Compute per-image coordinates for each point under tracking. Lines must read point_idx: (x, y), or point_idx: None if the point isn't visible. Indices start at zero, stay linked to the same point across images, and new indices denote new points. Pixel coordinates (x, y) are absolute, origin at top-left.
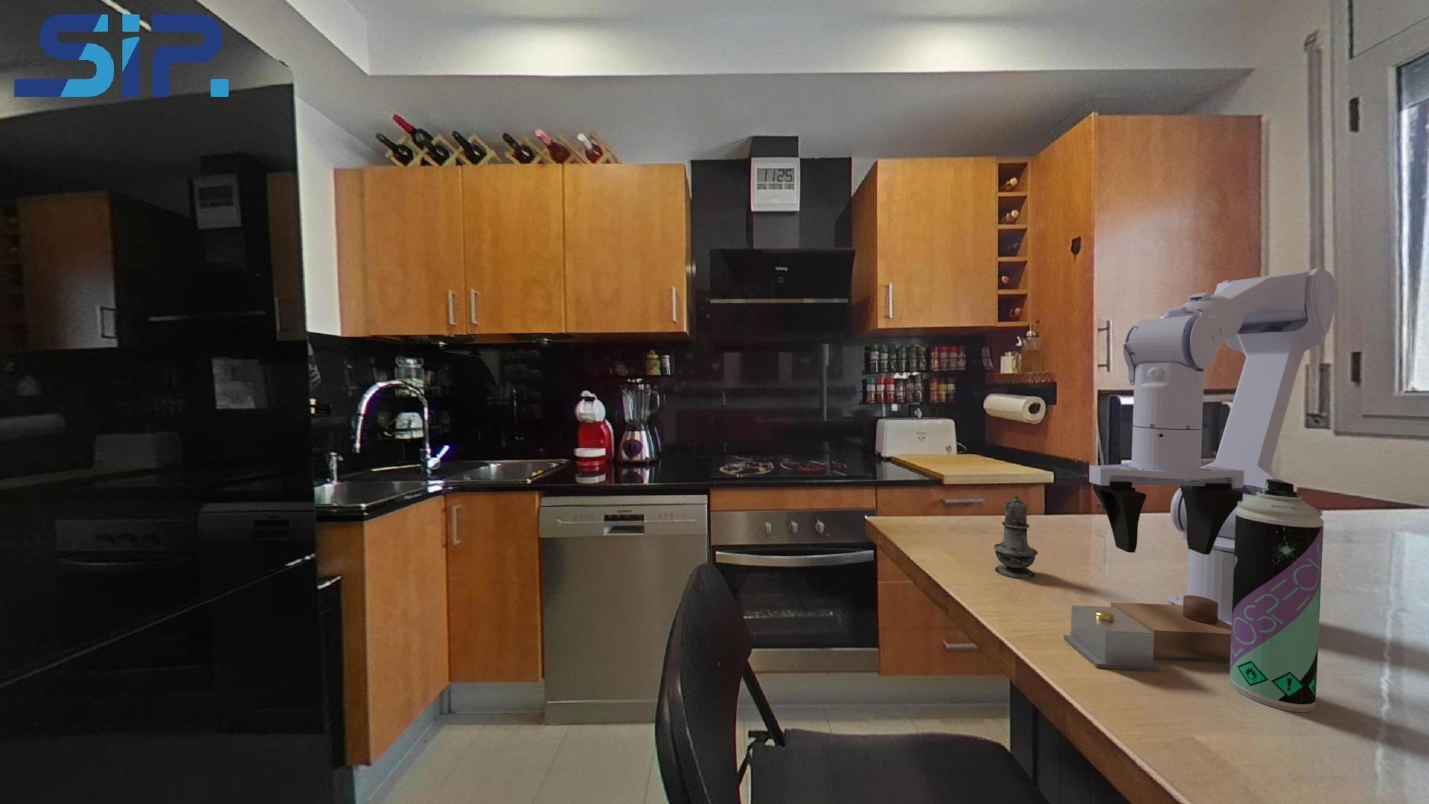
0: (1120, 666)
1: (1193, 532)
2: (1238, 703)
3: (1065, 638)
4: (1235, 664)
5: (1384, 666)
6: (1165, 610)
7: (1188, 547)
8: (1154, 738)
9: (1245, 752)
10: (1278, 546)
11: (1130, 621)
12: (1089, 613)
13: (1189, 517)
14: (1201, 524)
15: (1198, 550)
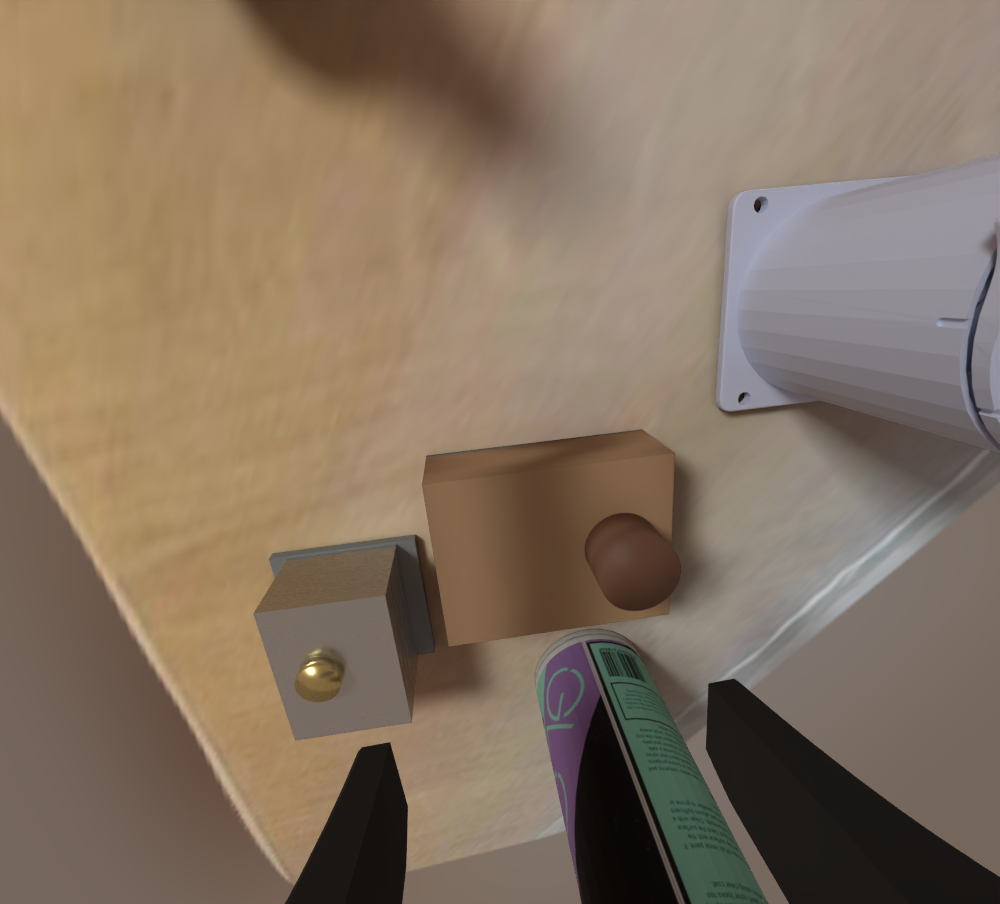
0: None
1: (770, 785)
2: (509, 712)
3: (272, 565)
4: (543, 715)
5: (909, 517)
6: (559, 512)
7: (711, 688)
8: (319, 823)
9: (431, 817)
10: None
11: (384, 678)
12: (288, 657)
13: (843, 855)
14: (813, 894)
15: (712, 735)
